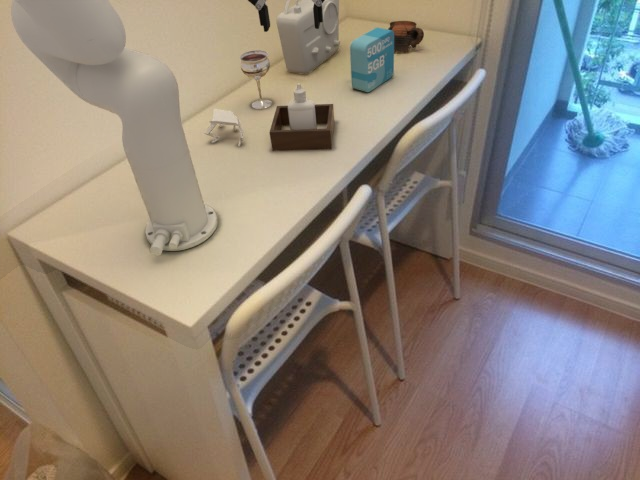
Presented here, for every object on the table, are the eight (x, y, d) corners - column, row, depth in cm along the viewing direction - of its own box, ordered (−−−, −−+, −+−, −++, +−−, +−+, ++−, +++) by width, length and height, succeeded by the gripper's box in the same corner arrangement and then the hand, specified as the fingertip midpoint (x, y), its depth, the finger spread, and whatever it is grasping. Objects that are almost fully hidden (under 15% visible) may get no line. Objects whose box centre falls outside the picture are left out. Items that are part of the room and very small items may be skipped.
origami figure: (196, 140, 118) (191, 120, 115) (222, 123, 123) (218, 104, 120) (237, 153, 113) (232, 133, 109) (262, 135, 117) (258, 115, 114)
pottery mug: (378, 52, 148) (380, 21, 147) (397, 57, 155) (400, 27, 154) (414, 49, 140) (416, 16, 139) (433, 54, 147) (436, 23, 146)
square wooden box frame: (331, 149, 111) (330, 130, 108) (272, 151, 112) (269, 132, 109) (334, 122, 120) (333, 103, 117) (279, 124, 121) (276, 105, 118)
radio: (308, 80, 137) (297, -24, 121) (281, 75, 141) (267, -27, 125) (347, 48, 151) (342, -49, 135) (322, 45, 155) (314, -50, 138)
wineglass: (278, 107, 127) (271, 58, 119) (250, 113, 126) (242, 64, 118) (272, 95, 132) (265, 47, 124) (245, 101, 131) (236, 53, 123)
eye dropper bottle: (309, 143, 113) (303, 91, 105) (288, 137, 116) (281, 85, 108) (320, 134, 116) (316, 82, 108) (300, 128, 119) (294, 77, 111)
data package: (366, 94, 129) (364, 45, 121) (351, 90, 131) (349, 41, 123) (394, 76, 135) (394, 28, 127) (379, 72, 138) (379, 25, 130)
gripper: (224, -66, 87) (243, 37, 98) (329, -75, 85) (336, 32, 96) (234, -77, 93) (251, 23, 104) (332, -85, 91) (339, 18, 102)
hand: (292, 27), depth 100 cm, fingers open, 9 cm apart
